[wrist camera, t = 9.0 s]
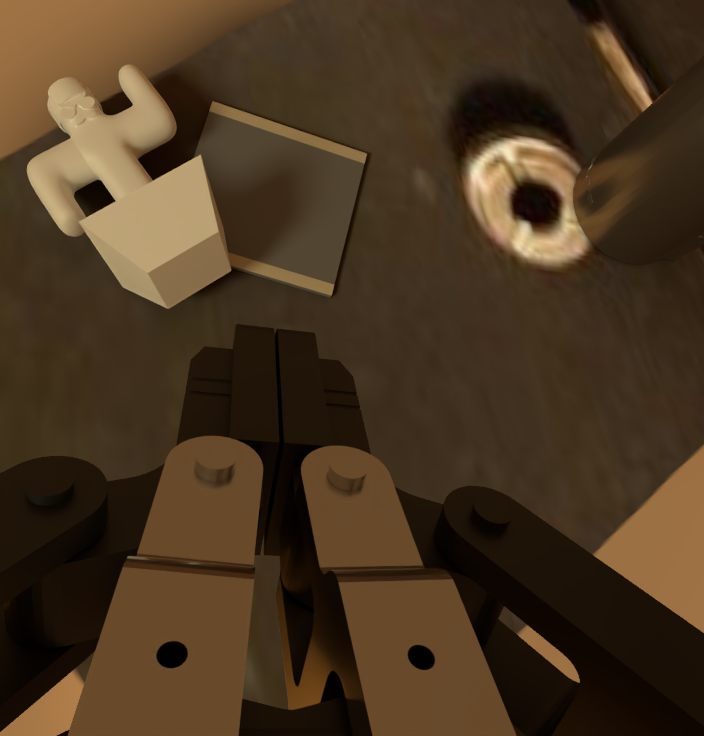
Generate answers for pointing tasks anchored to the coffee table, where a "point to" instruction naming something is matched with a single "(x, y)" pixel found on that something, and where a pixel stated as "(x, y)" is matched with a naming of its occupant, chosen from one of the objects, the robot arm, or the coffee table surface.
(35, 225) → the coffee table surface
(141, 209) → the figurine
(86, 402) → the coffee table surface
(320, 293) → the felt mat
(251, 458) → the robot arm
